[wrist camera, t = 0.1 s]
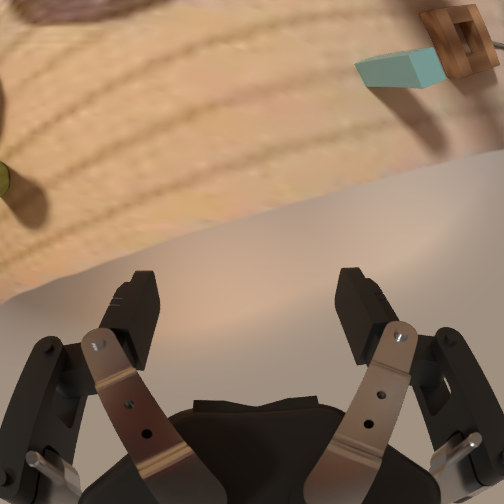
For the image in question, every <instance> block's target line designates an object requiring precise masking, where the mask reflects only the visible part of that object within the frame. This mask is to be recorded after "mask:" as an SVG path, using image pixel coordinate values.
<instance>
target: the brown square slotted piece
mask: <svg viewBox="0 0 504 504" xmlns="http://www.w3.org/2000/svg"><path fill="white" fill-rule="evenodd" d="M419 15H420V17H421V19H422V21H423V23H424V25H425V27H426V29H427V31H428V33H429V35H430V37H431V39H432V41H433V44H434V46H435V48H436V50H437V53H438V55H439V58H440V60H441V62H442V65H443V67H444V70H445V73H446V75H447V77H457V78H464V77H467V76H469V75H472V74H475V73H478V72H481V71H484V70H487V69H490V68H493V67H496V66H499V65H500V63H499V60H498V57H497V54H496V51H495V49H494V46H493V43H492V41H491V38H490V35H489V33H488V31H487V28H486V26H485V23H484V21H483V19H482V17H481V15H480V12H479V10H478V8H477V6H476V4H471V5H462V6H454V7H447V8H441V9H435V10H431V11H427V12H424V13H420V14H419ZM455 23H459V24H460V26H461V29H462V31H463V33H464V35H465V38H466V40H467V43H468V45H469V47H470V50H471V52H470V53H467V54H466V53H465V51H464V48H463V46H462V43H461V41H460V39H459V36H458V34H457V32H456V30H455V27H454V25H453V24H455Z"/></svg>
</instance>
